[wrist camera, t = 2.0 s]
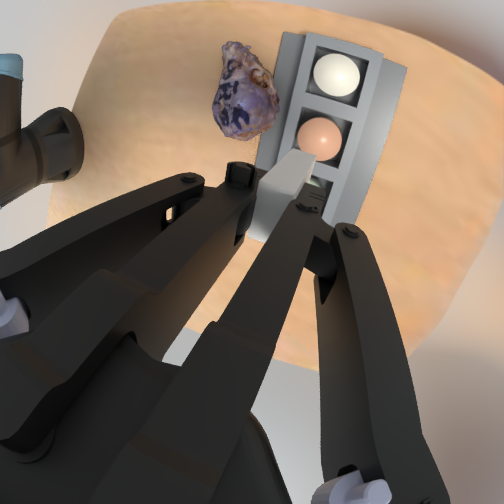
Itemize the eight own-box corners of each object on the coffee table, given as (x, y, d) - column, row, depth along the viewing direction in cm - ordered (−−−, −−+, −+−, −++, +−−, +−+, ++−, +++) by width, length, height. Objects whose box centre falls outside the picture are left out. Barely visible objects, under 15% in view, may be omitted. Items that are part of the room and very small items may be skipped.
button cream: (312, 89, 25) (309, 88, 23) (321, 51, 23) (318, 48, 21) (353, 101, 24) (353, 102, 23) (363, 64, 22) (364, 61, 20)
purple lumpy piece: (219, 48, 28) (189, 43, 23) (278, 37, 24) (255, 26, 20) (229, 137, 34) (202, 146, 29) (288, 135, 30) (268, 143, 26)
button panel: (249, 196, 37) (240, 207, 35) (285, 32, 24) (277, 26, 22) (350, 231, 35) (349, 245, 32) (406, 68, 22) (412, 65, 19)
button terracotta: (297, 148, 29) (293, 153, 27) (306, 111, 27) (303, 113, 25) (335, 161, 29) (334, 166, 27) (346, 124, 26) (346, 126, 24)
